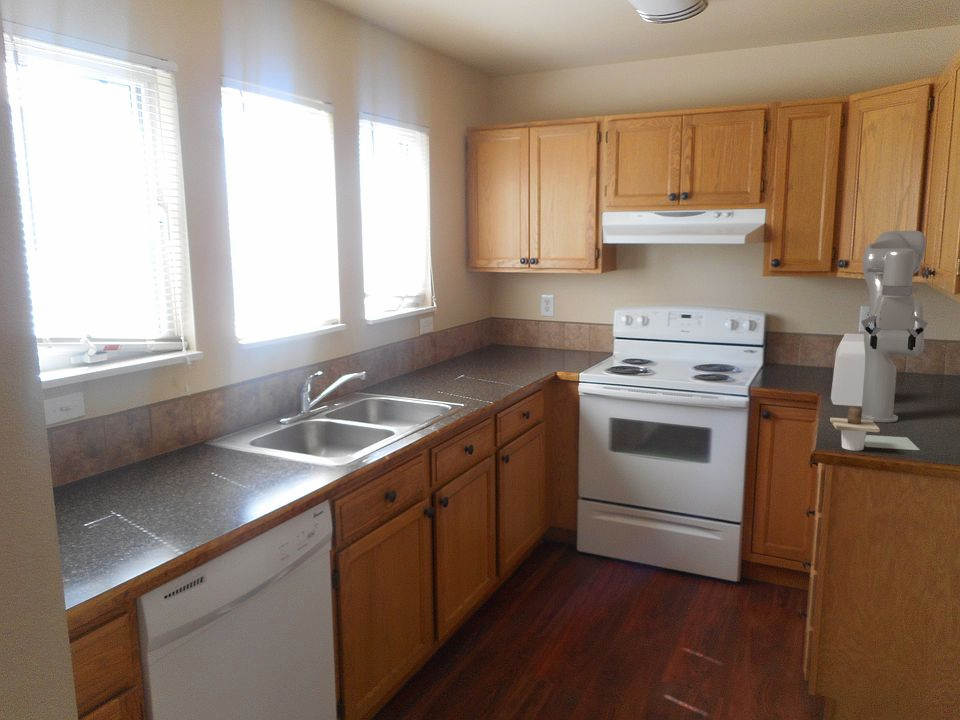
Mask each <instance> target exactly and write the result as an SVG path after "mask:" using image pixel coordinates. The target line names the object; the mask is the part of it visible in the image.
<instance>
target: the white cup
mask: <svg viewBox="0 0 960 720" xmlns="http://www.w3.org/2000/svg"><path fill="white" fill-rule="evenodd" d="M840 431H841V432H840V433H841V437H840V438H841V448H842V449H845V450H847V451H848V450H849V451H863V450H864V449H865V445H864V443H865V438H866V435H867V432H866V431H848V430H840Z"/></svg>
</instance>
